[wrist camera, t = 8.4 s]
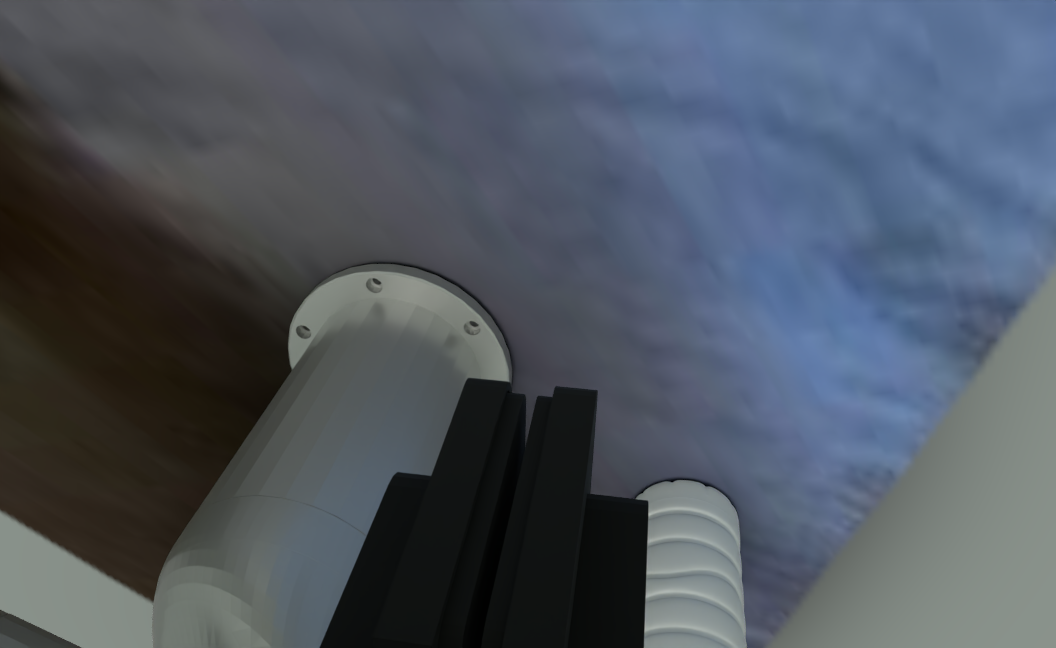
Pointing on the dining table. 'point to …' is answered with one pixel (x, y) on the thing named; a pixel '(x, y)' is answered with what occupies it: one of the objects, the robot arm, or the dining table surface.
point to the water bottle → (692, 568)
